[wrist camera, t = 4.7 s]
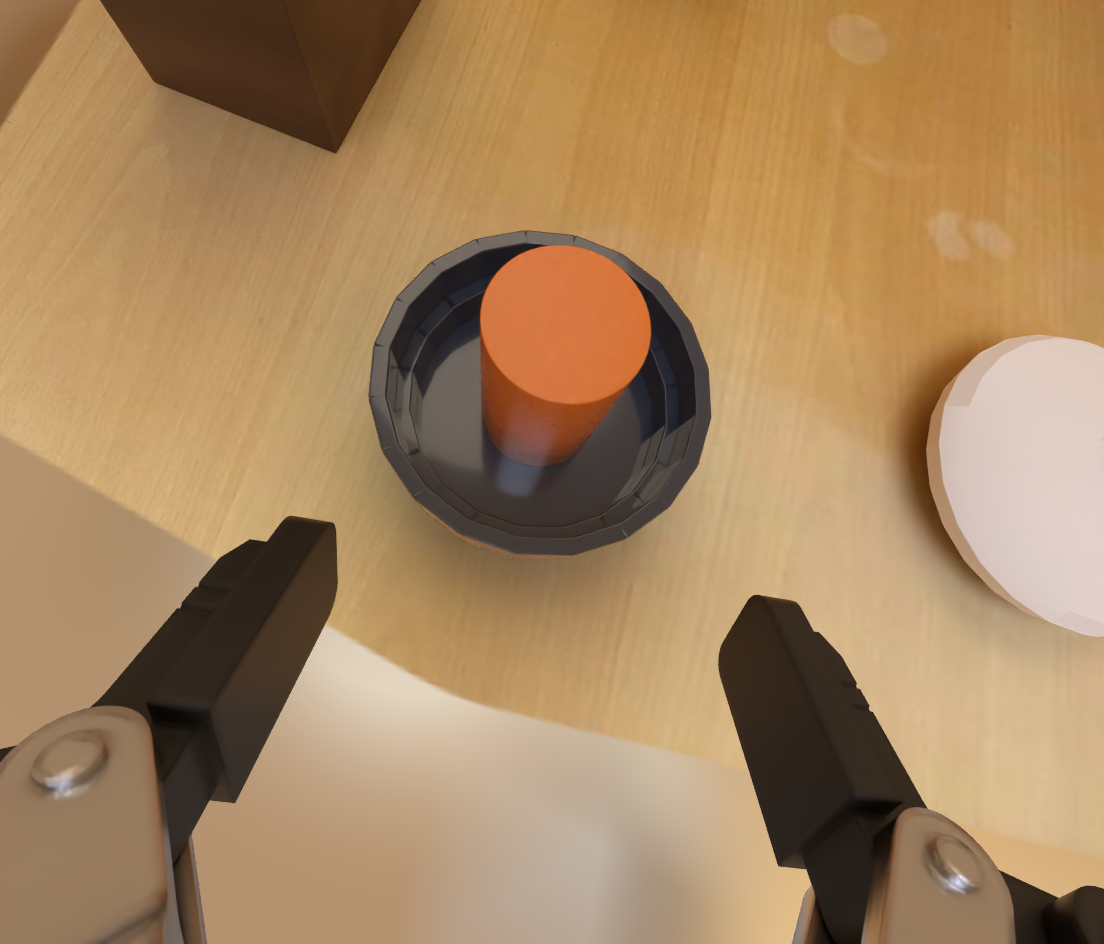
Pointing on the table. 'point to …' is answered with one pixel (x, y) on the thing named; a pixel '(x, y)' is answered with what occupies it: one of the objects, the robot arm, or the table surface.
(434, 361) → the pot
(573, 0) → the table surface
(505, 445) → the orange can
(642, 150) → the table surface
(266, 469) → the table surface
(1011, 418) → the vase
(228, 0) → the stand
